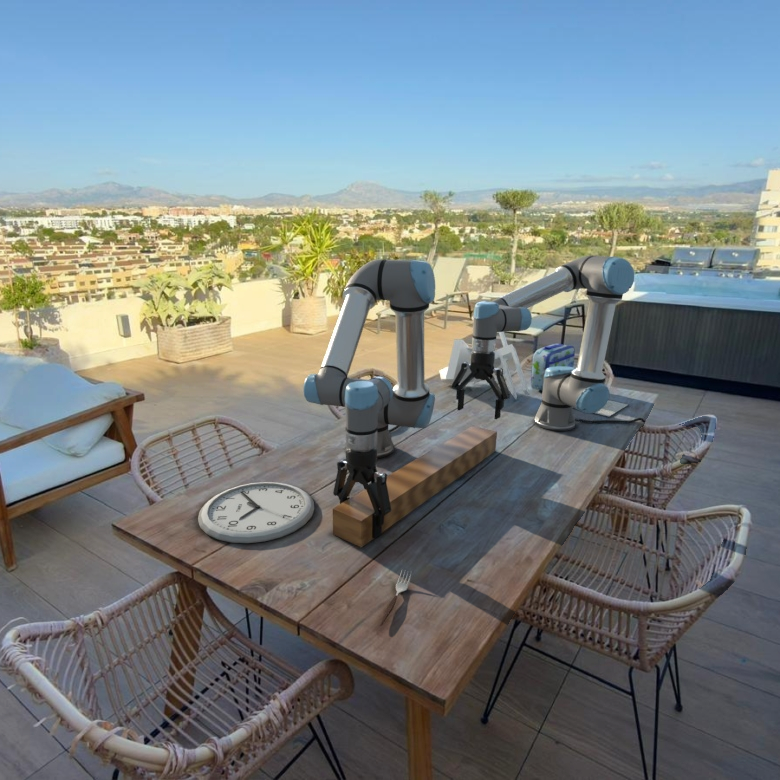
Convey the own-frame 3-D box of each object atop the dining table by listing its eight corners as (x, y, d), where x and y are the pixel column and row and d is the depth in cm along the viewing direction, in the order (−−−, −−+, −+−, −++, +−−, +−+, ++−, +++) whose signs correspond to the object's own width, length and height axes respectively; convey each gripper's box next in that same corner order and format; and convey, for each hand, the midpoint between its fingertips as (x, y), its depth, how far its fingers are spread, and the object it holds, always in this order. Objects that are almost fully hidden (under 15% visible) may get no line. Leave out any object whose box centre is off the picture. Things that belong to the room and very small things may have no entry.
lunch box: (547, 395, 239) (552, 351, 233) (526, 390, 247) (530, 347, 240) (574, 384, 257) (579, 343, 251) (554, 380, 264) (558, 339, 258)
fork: (373, 626, 100) (374, 617, 99) (401, 576, 114) (401, 568, 113) (386, 630, 99) (386, 621, 98) (412, 579, 113) (412, 571, 112)
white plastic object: (461, 429, 252) (437, 405, 227) (444, 352, 274) (420, 323, 250) (535, 404, 240) (518, 377, 215) (510, 326, 262) (492, 293, 237)
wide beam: (471, 444, 185) (473, 425, 182) (495, 451, 179) (497, 431, 177) (332, 534, 129) (332, 508, 127) (361, 547, 124) (361, 521, 122)
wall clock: (310, 535, 126) (182, 539, 123) (311, 541, 126) (183, 545, 124) (317, 477, 154) (212, 480, 152) (317, 482, 155) (213, 485, 152)
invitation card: (608, 416, 214) (573, 407, 224) (608, 416, 214) (573, 408, 224) (628, 404, 229) (594, 396, 238) (628, 405, 229) (594, 397, 238)
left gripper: (317, 439, 128) (319, 520, 134) (388, 464, 115) (387, 552, 122) (337, 431, 133) (339, 509, 140) (408, 453, 121) (405, 537, 128)
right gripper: (443, 347, 171) (440, 408, 178) (514, 359, 157) (508, 425, 164) (455, 343, 177) (451, 402, 183) (524, 355, 163) (518, 418, 169)
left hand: (361, 529), depth 131 cm, fingers closed on wide beam, 9 cm apart
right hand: (478, 413), depth 174 cm, fingers open, 13 cm apart
